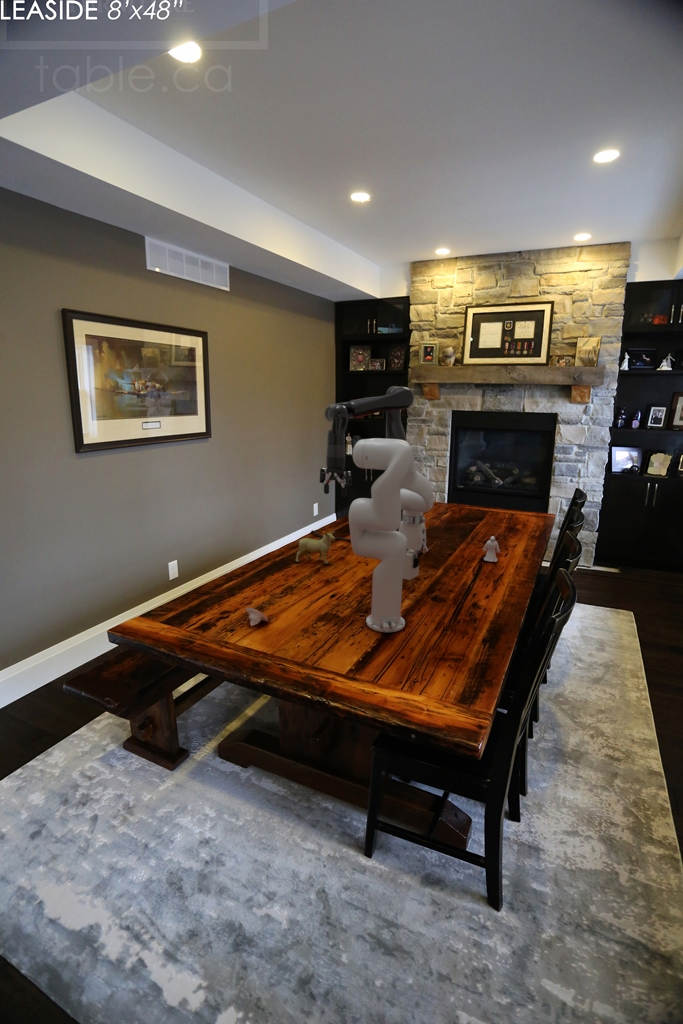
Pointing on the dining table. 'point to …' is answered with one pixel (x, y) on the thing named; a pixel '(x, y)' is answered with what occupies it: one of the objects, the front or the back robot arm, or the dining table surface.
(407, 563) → the brick
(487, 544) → the figurine
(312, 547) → the toy
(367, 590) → the dining table surface
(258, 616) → the seashell
